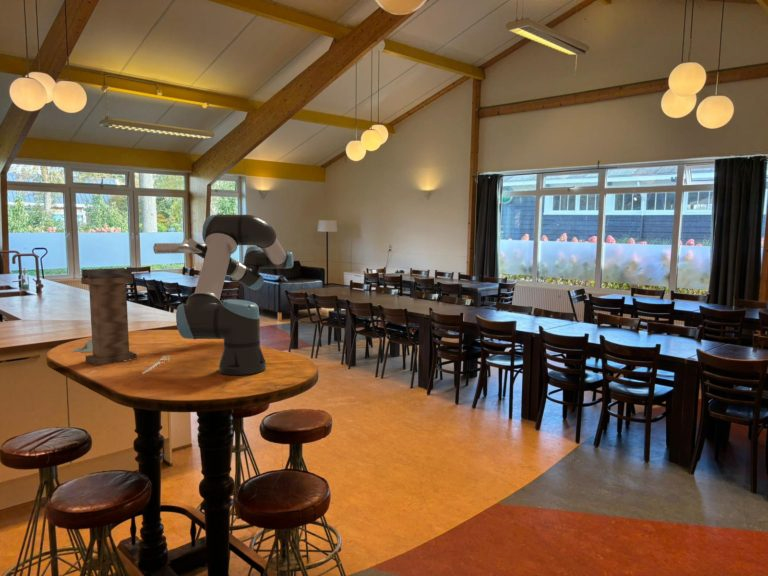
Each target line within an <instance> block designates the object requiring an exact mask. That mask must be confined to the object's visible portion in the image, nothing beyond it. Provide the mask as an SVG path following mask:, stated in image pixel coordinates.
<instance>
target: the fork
mask: <svg viewBox="0 0 768 576" xmlns="http://www.w3.org/2000/svg"><path fill="white" fill-rule="evenodd" d="M160 360H168V361H169V360H170V356H168V355H163V356H161V358H160ZM160 363H163V362H159V361H157V362H155V364H153V365H151V366H150V367H148V368H147V369H146V370H144V371H142V373H141V375H144V374H146V373H147V372H149V371H151V370H153V369H154V367H155V366H156V367H158V366H159V365H161V364H160ZM158 364H159V365H158ZM157 365H158V366H157ZM156 367H155V368H156ZM152 368H153V369H152Z"/></svg>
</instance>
